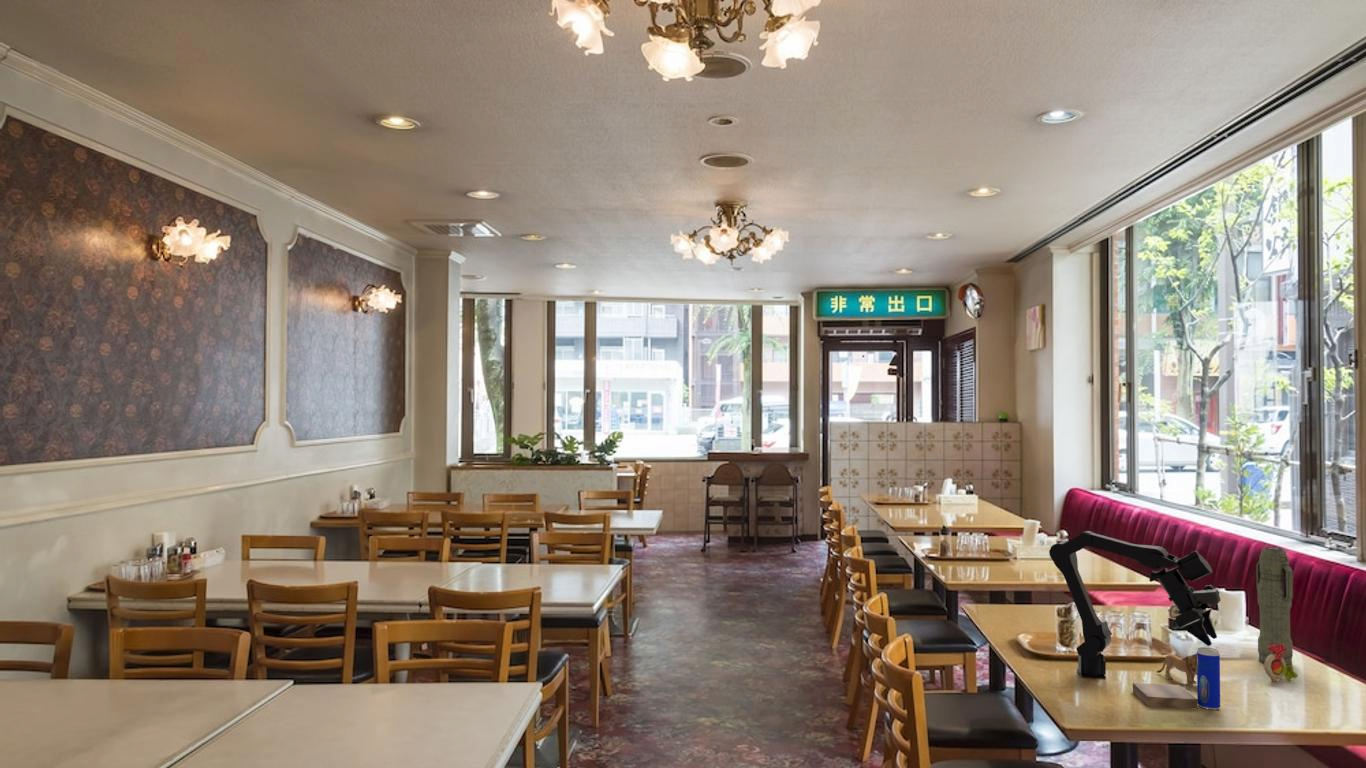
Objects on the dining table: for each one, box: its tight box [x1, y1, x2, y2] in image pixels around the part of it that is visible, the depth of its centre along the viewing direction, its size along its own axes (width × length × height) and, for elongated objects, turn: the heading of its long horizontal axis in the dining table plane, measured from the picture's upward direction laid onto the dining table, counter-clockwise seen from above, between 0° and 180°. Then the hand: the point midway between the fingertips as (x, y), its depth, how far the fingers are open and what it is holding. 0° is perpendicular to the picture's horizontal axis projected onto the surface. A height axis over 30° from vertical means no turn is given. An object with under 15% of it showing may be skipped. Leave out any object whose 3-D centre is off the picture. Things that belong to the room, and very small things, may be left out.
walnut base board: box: [1132, 682, 1198, 709], centre depth 240 cm, size 12×12×2 cm
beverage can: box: [1196, 646, 1221, 710], centre depth 235 cm, size 5×5×15 cm
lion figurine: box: [1156, 653, 1197, 686], centre depth 258 cm, size 15×5×9 cm, turn 34°
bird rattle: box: [1263, 643, 1299, 683], centre depth 258 cm, size 6×11×9 cm
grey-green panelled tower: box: [1255, 546, 1294, 666], centre depth 277 cm, size 9×12×35 cm
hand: (1212, 641), depth 244 cm, fingers open, 9 cm apart
